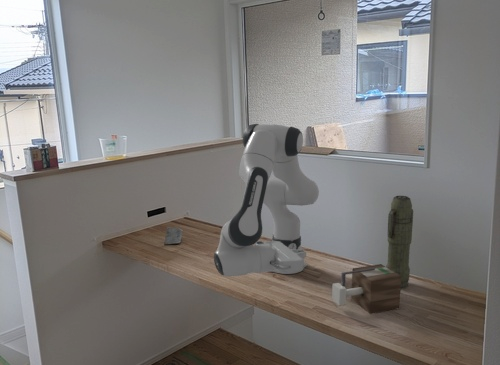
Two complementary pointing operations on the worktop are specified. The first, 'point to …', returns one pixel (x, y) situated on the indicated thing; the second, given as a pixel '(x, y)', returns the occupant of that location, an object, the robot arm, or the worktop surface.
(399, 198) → the olive green tall piece
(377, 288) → the block
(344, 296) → the peg
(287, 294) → the worktop surface
